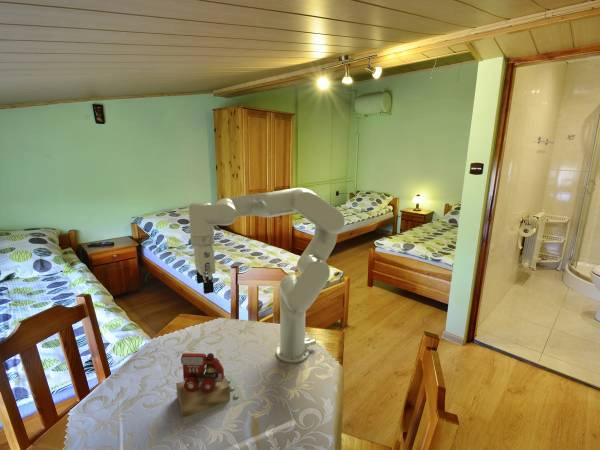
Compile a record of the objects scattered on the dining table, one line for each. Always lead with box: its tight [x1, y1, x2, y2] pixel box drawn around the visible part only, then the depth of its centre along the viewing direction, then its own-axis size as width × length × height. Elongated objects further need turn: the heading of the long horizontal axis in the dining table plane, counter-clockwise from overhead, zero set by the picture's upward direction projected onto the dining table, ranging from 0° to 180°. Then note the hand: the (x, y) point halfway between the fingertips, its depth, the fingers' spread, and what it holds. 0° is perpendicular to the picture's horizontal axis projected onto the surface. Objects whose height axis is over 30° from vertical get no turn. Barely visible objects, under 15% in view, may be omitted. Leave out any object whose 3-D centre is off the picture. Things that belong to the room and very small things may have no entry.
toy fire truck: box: [180, 352, 225, 392], centre depth 97 cm, size 7×12×10 cm, turn 90°
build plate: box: [175, 374, 246, 425], centre depth 100 cm, size 18×14×2 cm
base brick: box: [175, 375, 230, 419], centre depth 99 cm, size 14×9×5 cm, turn 120°
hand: (205, 287), depth 110 cm, fingers open, 9 cm apart
